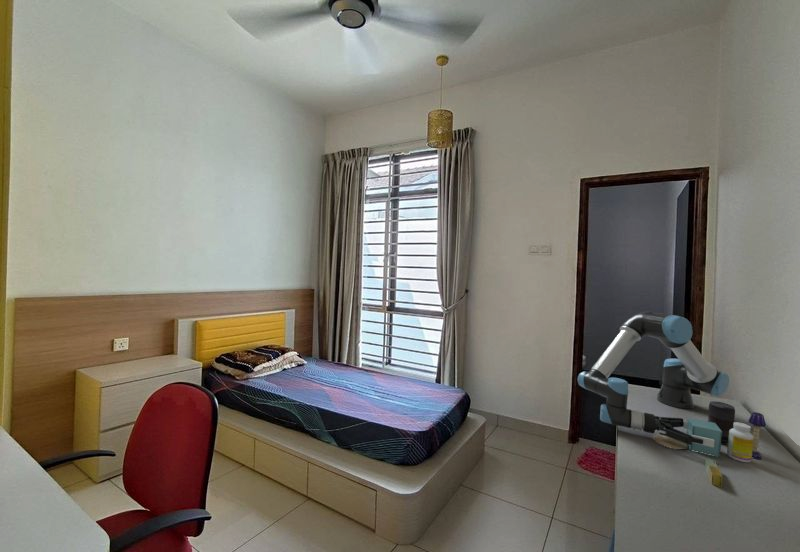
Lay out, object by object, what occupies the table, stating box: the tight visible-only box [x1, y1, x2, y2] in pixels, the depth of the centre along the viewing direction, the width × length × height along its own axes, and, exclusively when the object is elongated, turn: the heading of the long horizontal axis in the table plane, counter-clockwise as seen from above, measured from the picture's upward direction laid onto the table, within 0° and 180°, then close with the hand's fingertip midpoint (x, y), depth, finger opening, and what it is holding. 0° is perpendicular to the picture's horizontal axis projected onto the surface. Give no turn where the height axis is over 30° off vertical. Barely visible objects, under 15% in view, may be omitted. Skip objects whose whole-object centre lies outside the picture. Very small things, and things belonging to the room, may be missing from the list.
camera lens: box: [707, 400, 736, 445], centre depth 147 cm, size 8×8×15 cm
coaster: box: [652, 434, 689, 450], centre depth 144 cm, size 11×11×1 cm
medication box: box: [704, 457, 723, 488], centre depth 121 cm, size 12×3×4 cm, turn 149°
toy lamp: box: [747, 411, 767, 460], centre depth 136 cm, size 5×5×17 cm
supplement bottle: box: [726, 421, 754, 464], centre depth 134 cm, size 7×7×13 cm
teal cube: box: [686, 417, 722, 458], centre depth 139 cm, size 8×8×10 cm
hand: (708, 435), depth 138 cm, fingers open, 13 cm apart
